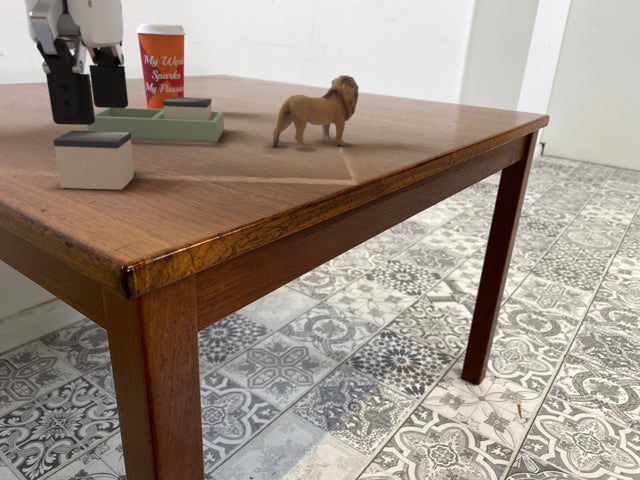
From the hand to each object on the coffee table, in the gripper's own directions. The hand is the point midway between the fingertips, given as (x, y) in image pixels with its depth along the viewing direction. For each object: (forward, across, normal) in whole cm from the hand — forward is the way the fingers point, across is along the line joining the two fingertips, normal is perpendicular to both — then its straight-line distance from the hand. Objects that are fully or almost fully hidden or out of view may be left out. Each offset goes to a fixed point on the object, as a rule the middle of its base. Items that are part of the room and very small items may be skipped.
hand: (95, 114), depth 48 cm
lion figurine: (+7, -21, +22) cm, 31 cm away
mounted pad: (+6, -22, +4) cm, 23 cm away
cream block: (+6, 0, 0) cm, 7 cm away
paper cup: (+6, -40, -2) cm, 41 cm away
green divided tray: (+6, -22, 0) cm, 23 cm away
